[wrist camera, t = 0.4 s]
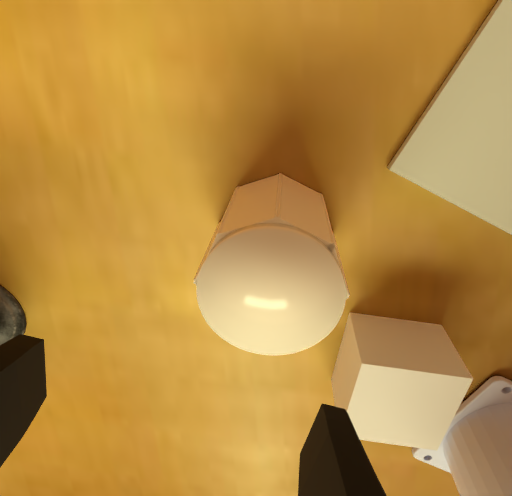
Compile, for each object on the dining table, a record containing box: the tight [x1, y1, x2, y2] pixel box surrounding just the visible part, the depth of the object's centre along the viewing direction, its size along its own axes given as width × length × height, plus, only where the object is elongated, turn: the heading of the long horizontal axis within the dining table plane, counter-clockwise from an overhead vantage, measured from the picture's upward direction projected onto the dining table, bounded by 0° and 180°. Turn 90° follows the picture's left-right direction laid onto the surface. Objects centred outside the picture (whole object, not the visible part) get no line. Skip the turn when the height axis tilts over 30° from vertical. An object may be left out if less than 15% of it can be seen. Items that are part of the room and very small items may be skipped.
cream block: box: [331, 312, 473, 451], centre depth 20 cm, size 5×5×4 cm
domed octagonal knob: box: [194, 173, 350, 355], centre depth 16 cm, size 5×5×6 cm
